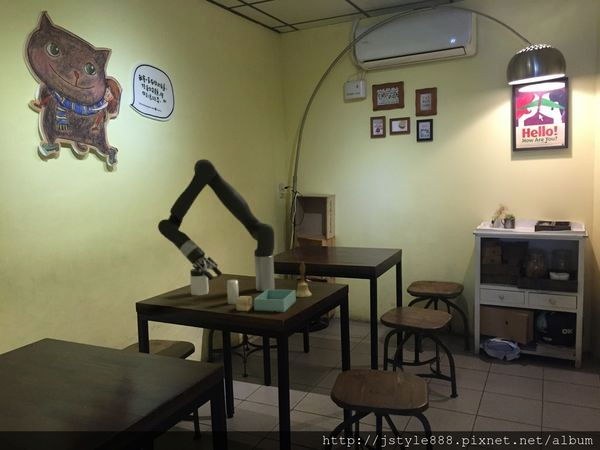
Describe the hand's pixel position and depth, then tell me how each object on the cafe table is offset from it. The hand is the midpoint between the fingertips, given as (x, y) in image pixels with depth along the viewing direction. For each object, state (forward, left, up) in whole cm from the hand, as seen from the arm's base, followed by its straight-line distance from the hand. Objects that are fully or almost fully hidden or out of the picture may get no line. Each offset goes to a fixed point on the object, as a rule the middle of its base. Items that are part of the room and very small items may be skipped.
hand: (216, 277), depth 216 cm
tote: (+3, +29, -12) cm, 31 cm away
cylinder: (0, +8, -12) cm, 14 cm away
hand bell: (-17, +36, -12) cm, 41 cm away
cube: (+9, +17, -12) cm, 22 cm away
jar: (-14, -16, -12) cm, 24 cm away
